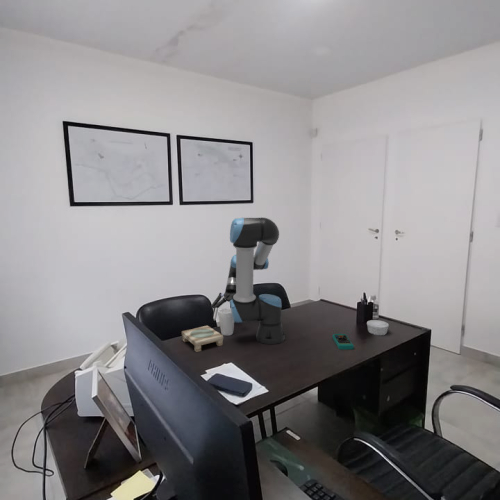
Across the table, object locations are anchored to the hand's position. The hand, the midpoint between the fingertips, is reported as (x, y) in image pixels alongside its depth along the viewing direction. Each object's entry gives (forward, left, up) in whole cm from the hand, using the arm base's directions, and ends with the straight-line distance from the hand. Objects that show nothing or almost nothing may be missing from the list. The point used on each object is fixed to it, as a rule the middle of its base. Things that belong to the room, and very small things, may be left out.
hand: (226, 320), depth 186 cm
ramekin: (-47, -68, -8) cm, 83 cm away
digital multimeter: (-46, -41, -8) cm, 63 cm away
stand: (-4, +17, -8) cm, 19 cm away
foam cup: (0, 0, -8) cm, 8 cm away
